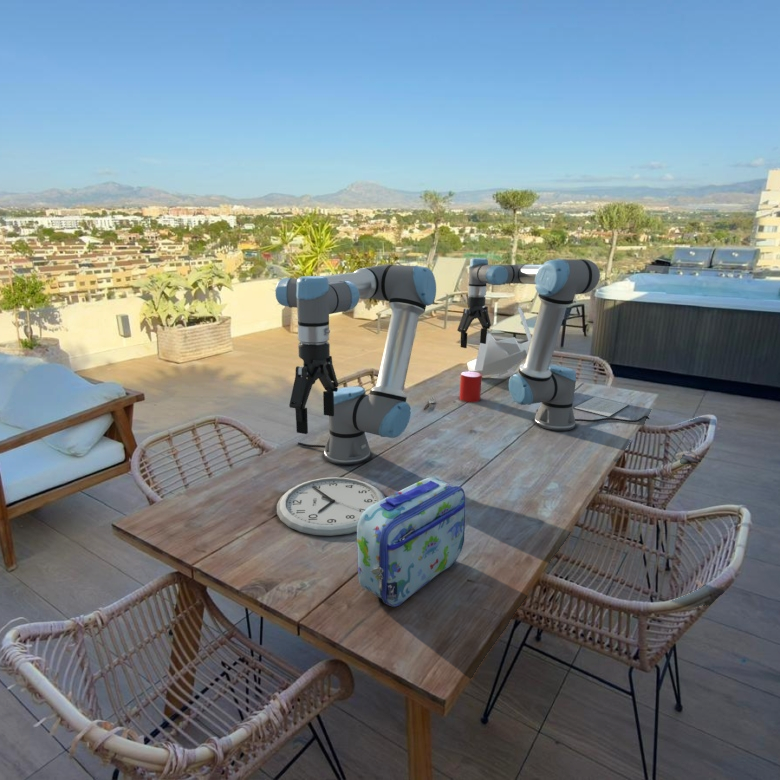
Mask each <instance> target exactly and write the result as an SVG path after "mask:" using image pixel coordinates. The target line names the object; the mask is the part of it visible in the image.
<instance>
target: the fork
mask: <svg viewBox="0 0 780 780" xmlns="http://www.w3.org/2000/svg"><path fill="white" fill-rule="evenodd" d="M436 399H437V397H436V396H435V395H430V398H429V400H428V403H427V404H425V406H424V407H423V411H425V410H426V409H427V408H428V407H430V405H431V404H434V403H435V402H436Z"/></svg>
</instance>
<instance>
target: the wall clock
mask: <svg viewBox="0 0 780 780" xmlns="http://www.w3.org/2000/svg"><path fill="white" fill-rule="evenodd" d="M385 498H386V496H385V494H384V493H383V492H382V491H381V490H380V489H379V488H377V487H376V486H374V485H372V484H371V483H369V482H365V481H362V480H359V479H355V478H349V477H338V476H337V477H335V476H333V477H332V476H331V477H322V478H317V479H312V480H307V481H305V482H302V483H299V484H297V485H295V486H293V487H292V488H290V489H288V490H287V491H286V492H285V493H284V494H283V495H281V496H280V498H279V499H278V502H277V503H276V515H277V517H278V518H279V520H280V521H281V522H282V523H283V524H285V525H286V526H287V527H288V528H290V529H293V530H295V531H297V532H299V533H303V534H308V535H312V536H327V537H328V536H329V537H331V536H332V537H333V536H342V535H350V534H352V533H357V526H358V522H359V519H360V517H361V515H362V513H363V512H364V511H365V510H366V509H367V508H368V507H369V506H371V505H373V504H375V503H377V502H379V501H381V500H383V499H385Z"/></svg>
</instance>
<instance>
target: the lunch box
mask: <svg viewBox="0 0 780 780" xmlns="http://www.w3.org/2000/svg"><path fill="white" fill-rule="evenodd" d="M465 528H466V494H465V490H464V489H463V487H461V486H458V485H456V486H454V485H451V484H450V483H448V482H446V481H444V480H442V479H440V478H438V477H436V476H430V477H426V478H424V479H421V480H420V481H417V482H415V483H413V484H411V485H409V486H407V487H405V488H402V489H401V490H399V491H396V492H395V493H393V494H390V495H389V496H387V497H385V499H383V500H381V501H379V502H377V503H375V504H373V505H371V506H369V507H368V508H367V509H366V510H365V511H364V512H363V513H362V515H361V517H360V519H359V522H358V526H357V532H356V549H357V550H356V551H357V552H356V553H357V577H358V583H359V585H360V587H361V588H362V589H364V590H366V591H368V592H370V593H372V594H374V595H375V596H377V598H379V599H381V600H382V602H383V603H384V604H385V605H387V606H390V607H393V608H394V607H398V606H400V605H402V604H403V603H404V602H405V601H406V600H408V599H409V598H410V597H411V596H412V595H414V594H416V592H418V591H419V590H420V589H422V588H423V587H424V586H426V585H427V584H428V583H430V582H431V581H432V579H434V578H435V577H436V576H438V575H439V574H440V573H442V572H444V571H446V570H447V569H449V568H450V567H451V566H452V565H454V563H456V561H457V560H458V558H459V557H460V555H461V553H462V550H463V547H464V542H465V530H466V529H465Z"/></svg>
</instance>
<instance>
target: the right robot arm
mask: <svg viewBox="0 0 780 780" xmlns="http://www.w3.org/2000/svg"><path fill="white" fill-rule="evenodd" d="M600 271H601V270H600V268H599V267H598V265H597V264H596V263H595V262H594V261H592V260H590V259H586V258H578V259H577V258H574V259H570V258H569V259H568V258H567V259H565V258H563V259H562V258H556V259H550V260H546V261H545V262H544V263H542V264H526V263H525V264H524V263H522V264H489V260H488V258H481V257H480V258H479V257H477V258H476V257H475V258H473V257H472V258H471V259H470V260H469V267H468V289H467V301H466V304H467V306H468V308H463V311H462V315H461V319H460V321H459V324H458V326H457V330H456V331H457V332H458V333H460V348H462V349H467V348H468V347H467V346H468V330H469V328H470V326H471V325H472V323H473V321H474V320H475V319H477V320H478V321H479V324H480V326H481V328H480V337H479V344H480V343H483V344H486V336H487V333H488V330H489V329H490V328H491V327H492V323H491V319H490V314H489V307H488V306H486V295H487V285H492V286H502V285H506V284H507V285H508V284H509V285H510V284H512V285H513V284H521V285H535V286H534V288H535V291H536V293H538V295H537V296H538V299H539V301H540V305H539V309H538V312H537V317H536V320H535V324H534V327H533V332H532V334H531V337H532V339H531V342H530V346H529V350H528V354H527V356H526V358H525V361H524V362H523V363H521V364H520V365H519V368H518V372H517V373H514V374H513V375H511V376H510V378H509V380H508V391H509V394H510V396H511V399H512V400H513V401H514V402H515V403H517V404H518V405H521V406H526V405H528V406H530V405H532V404H533V405H534V404H540V405H539V407H538V409H536V413H535V416H534V424H535V425H536V426H537V427H539V428H542V429H544V430H549V431H556V432H567V431H572V430H574V429H575V428H576V422H588V423H594V422H601V421H619V422H625V423H639V422H641V421H642V420H644V419H647V420H650V417H649V416H648V415H643V416H641V417H640V418H638V419H624V418H619V417H618V418H617V417H616V418H615V417H603V418H597V419H587V418H586V419H585V418H584V419H583V418H575V417H576V416H575V413H574V407H573V405H574V398H575V391H576V383H577V372H576V371H575V370H574V369H572V368H571V367H570V368H569V367H566V366H562V365H555V364H551V362H552V358H553V355H554V351H555V349H556V345H557V342H558V337H559V335H560V332H561V327H562V324H563V320H564V317H565V313H566V311H567V308H568V307H569V306H571V305H573V303H574V300H575V296H576V295H584V294H587V293H590V292H591V291H593V290H594V289H595V288H596V287H597V286H598V284H599V282H600V280H601V279H600V278H601V273H600Z"/></svg>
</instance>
